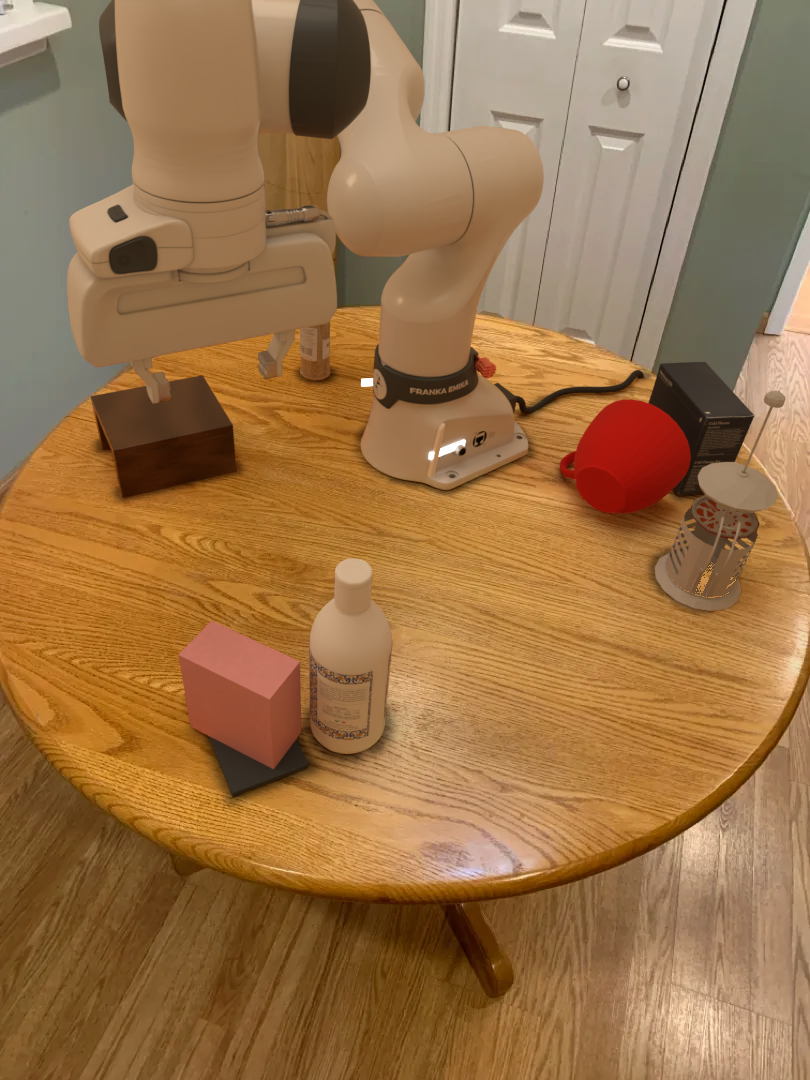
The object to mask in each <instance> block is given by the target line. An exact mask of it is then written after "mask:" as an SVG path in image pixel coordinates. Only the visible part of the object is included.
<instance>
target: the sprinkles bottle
mask: <svg viewBox="0 0 810 1080" xmlns="http://www.w3.org/2000/svg"><path fill="white" fill-rule="evenodd" d="M298 330H299V331H298V332H299V355H300V367H299V373H300V376H301V377H302V378H304V379H306V380H310V381H322V380H325V379H327V378H328V377H329V376H330V375H331V370H332V369H331V320H330V321H329V322H328V323H326V324H323V325H317V326H312V327H307V328H301V329H298Z"/></svg>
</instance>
